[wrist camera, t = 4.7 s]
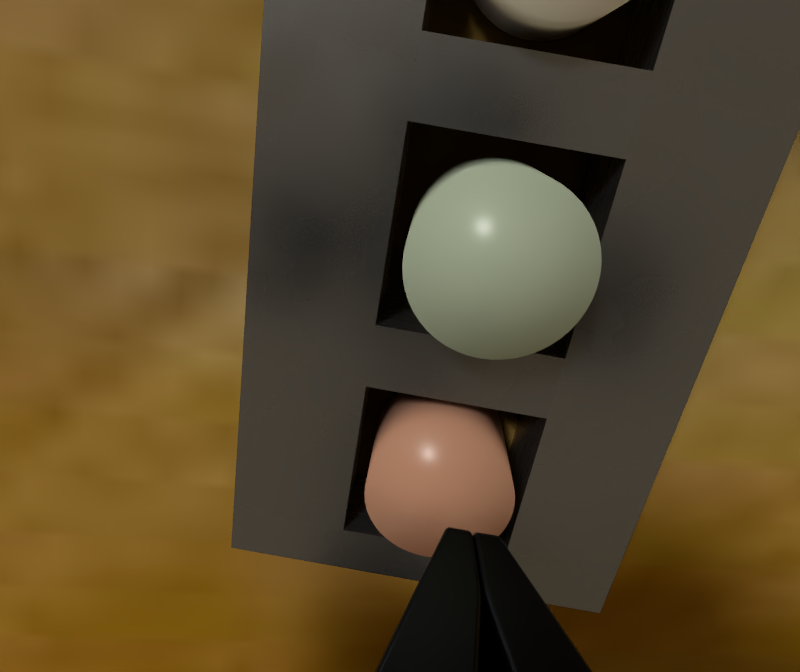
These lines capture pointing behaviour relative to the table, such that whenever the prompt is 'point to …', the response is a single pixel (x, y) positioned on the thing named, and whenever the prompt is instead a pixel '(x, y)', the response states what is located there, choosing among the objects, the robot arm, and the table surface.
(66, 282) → the table surface
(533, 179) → the egg sage
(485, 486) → the salmon pink rounded lump
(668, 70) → the grey holder
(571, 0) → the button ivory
